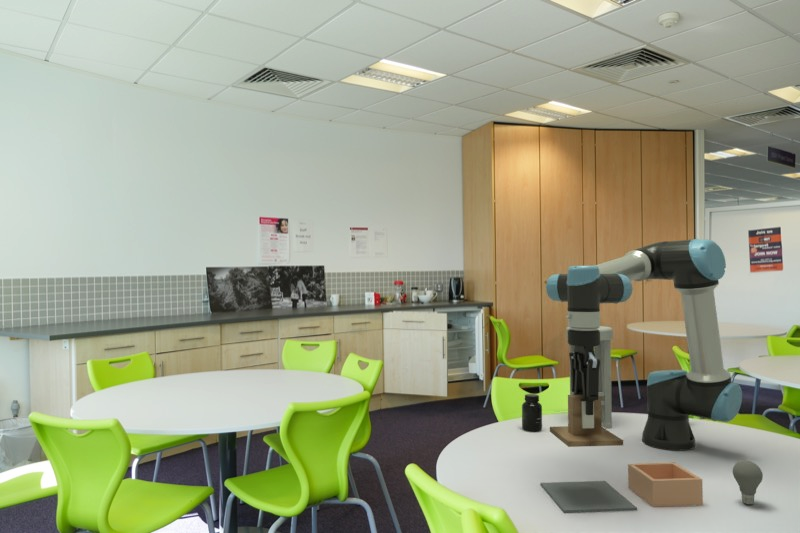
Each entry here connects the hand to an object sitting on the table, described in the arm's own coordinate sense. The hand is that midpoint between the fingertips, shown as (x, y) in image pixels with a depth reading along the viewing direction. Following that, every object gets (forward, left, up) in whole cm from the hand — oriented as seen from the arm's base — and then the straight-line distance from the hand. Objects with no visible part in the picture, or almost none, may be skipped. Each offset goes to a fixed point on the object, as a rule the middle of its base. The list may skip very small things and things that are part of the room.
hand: (584, 425), depth 136 cm
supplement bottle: (-5, -60, -17) cm, 63 cm away
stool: (-28, -65, -17) cm, 73 cm away
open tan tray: (-19, +1, -17) cm, 26 cm away
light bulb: (-36, +7, -17) cm, 41 cm away
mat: (0, 0, -17) cm, 17 cm away
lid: (0, 0, -3) cm, 3 cm away
